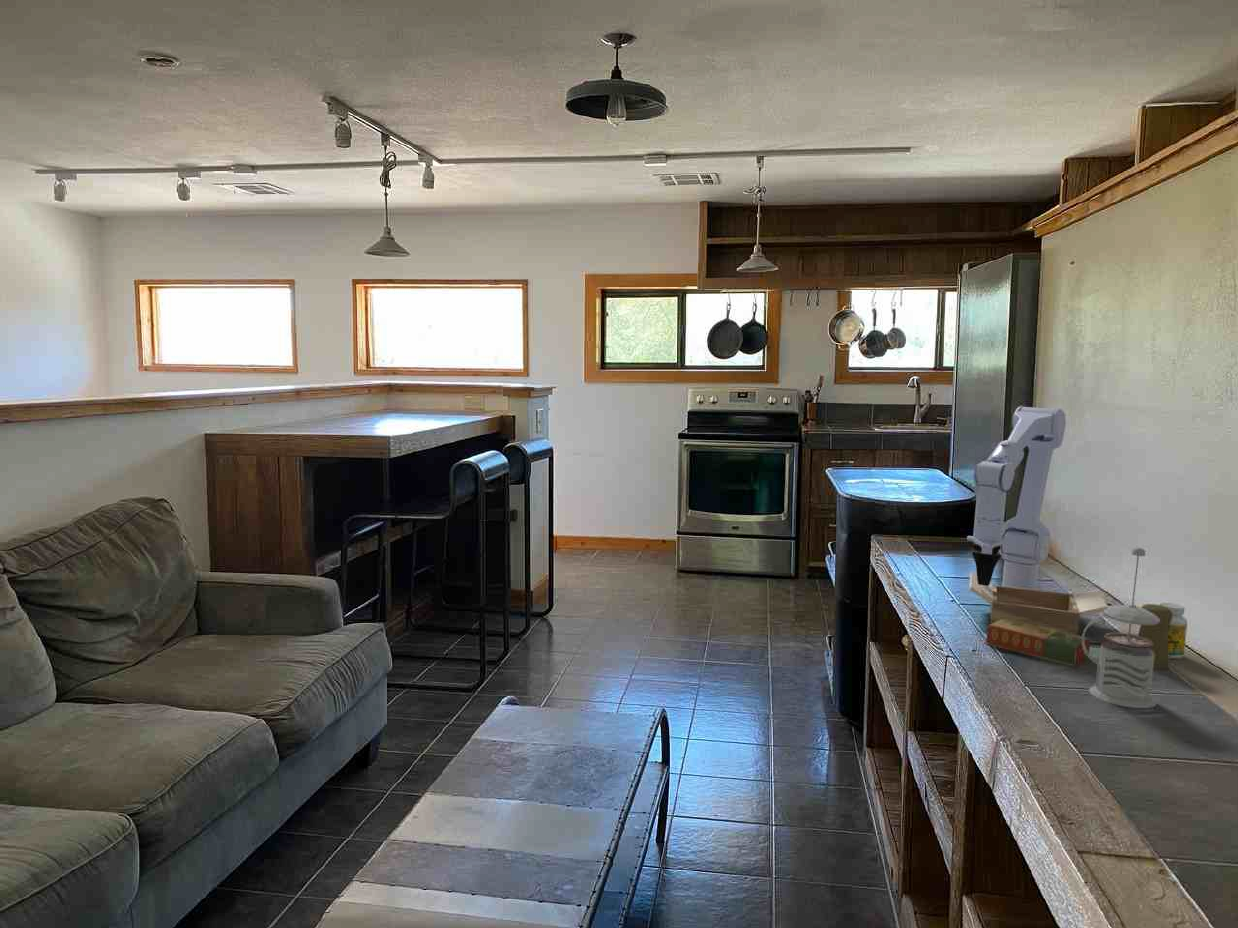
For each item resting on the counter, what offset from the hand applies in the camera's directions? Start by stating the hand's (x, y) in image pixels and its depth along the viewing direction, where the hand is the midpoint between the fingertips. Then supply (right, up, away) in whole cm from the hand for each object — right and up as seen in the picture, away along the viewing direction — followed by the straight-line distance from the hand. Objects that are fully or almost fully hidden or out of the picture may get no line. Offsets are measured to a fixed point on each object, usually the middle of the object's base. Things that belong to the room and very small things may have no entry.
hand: (983, 580), depth 193 cm
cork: (+19, -12, -27) cm, 36 cm away
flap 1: (0, -1, 0) cm, 1 cm away
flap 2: (+19, -3, -7) cm, 20 cm away
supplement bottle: (+26, -11, -21) cm, 36 cm away
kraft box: (+9, -8, -3) cm, 12 cm away
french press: (+4, -13, -44) cm, 46 cm away
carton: (+1, -11, -22) cm, 24 cm away
